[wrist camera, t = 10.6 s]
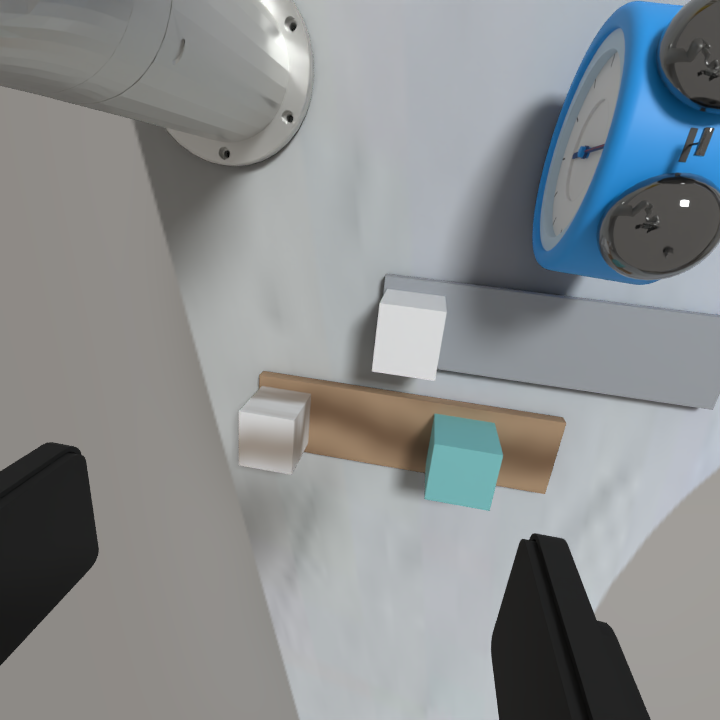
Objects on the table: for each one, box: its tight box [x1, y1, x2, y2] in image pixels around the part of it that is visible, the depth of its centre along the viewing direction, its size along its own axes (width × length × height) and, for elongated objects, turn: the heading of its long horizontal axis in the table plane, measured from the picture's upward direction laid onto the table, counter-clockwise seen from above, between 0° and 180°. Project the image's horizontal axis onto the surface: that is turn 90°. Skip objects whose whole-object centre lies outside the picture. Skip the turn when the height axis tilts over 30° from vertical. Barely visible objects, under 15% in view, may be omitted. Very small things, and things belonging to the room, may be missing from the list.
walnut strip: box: [239, 371, 566, 494], centre depth 37 cm, size 7×26×6 cm, turn 84°
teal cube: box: [424, 414, 503, 511], centre depth 36 cm, size 5×5×5 cm
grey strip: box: [372, 274, 720, 410], centre depth 32 cm, size 7×26×6 cm, turn 84°
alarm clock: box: [532, 0, 720, 285], centre depth 24 cm, size 13×6×15 cm, turn 172°
